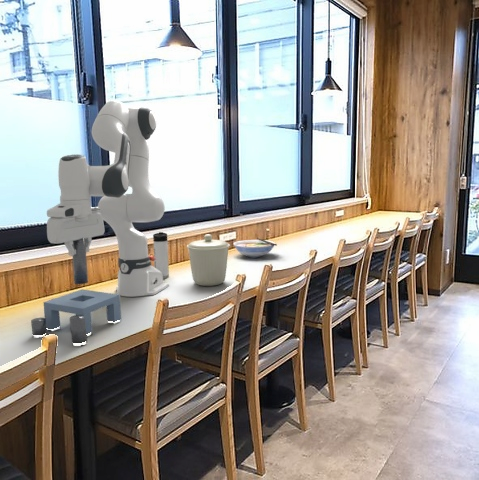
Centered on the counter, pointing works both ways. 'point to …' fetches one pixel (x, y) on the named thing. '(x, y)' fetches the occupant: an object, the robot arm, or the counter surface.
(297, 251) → the counter surface
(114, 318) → the grey legged square frame
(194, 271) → the canister
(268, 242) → the ramen bowl
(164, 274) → the travel mug
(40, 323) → the short steel pin
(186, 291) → the counter surface
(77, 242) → the tall steel pin
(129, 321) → the counter surface
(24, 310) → the counter surface
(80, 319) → the medium steel pin
